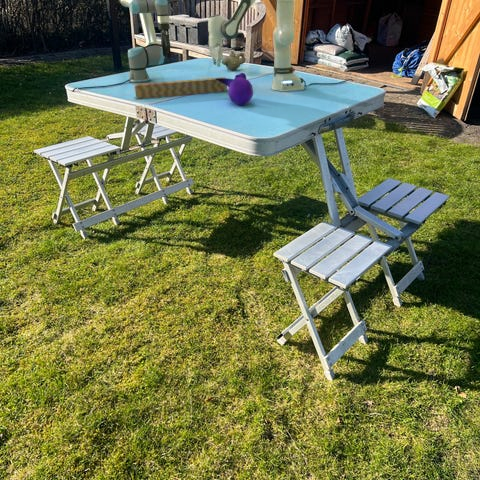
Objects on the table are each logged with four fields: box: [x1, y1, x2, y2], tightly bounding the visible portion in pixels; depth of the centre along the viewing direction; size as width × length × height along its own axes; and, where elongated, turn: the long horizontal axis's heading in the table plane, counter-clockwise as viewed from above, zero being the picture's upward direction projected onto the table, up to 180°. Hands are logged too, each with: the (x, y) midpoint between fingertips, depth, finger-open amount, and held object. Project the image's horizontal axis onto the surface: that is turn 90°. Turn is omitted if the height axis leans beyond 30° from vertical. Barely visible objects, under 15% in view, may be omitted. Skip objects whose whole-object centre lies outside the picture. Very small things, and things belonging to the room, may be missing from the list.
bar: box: [133, 76, 228, 100], centre depth 296 cm, size 61×6×8 cm, turn 107°
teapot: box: [221, 50, 246, 71], centre depth 368 cm, size 21×12×15 cm, turn 120°
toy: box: [215, 72, 254, 106], centre depth 272 cm, size 16×18×27 cm
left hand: (166, 57), depth 310 cm, fingers open, 13 cm apart
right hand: (216, 65), depth 296 cm, fingers open, 8 cm apart
